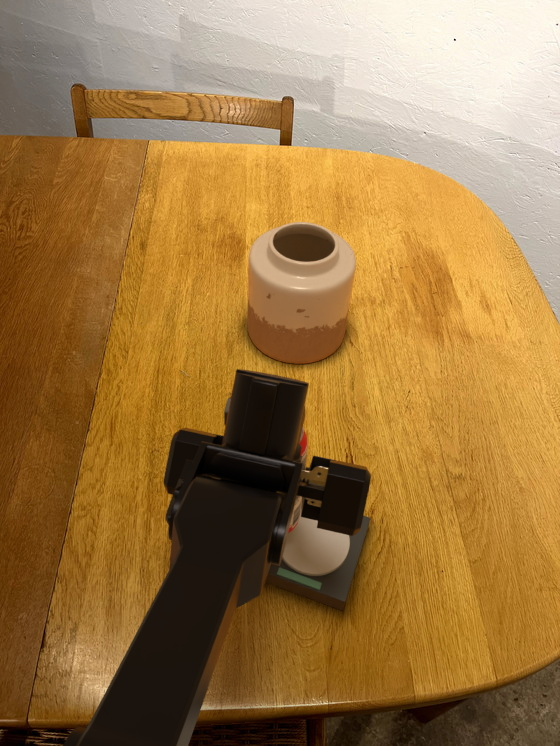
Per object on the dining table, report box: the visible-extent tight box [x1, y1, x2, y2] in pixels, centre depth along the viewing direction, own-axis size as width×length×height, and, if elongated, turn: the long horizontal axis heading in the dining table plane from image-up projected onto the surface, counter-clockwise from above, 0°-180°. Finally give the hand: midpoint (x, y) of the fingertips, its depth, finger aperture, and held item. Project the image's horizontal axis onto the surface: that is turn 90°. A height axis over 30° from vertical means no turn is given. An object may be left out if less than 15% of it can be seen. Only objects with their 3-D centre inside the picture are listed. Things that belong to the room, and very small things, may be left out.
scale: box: [265, 503, 372, 611], centre depth 76 cm, size 11×11×3 cm
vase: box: [246, 221, 357, 365], centre depth 96 cm, size 15×15×17 cm
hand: (277, 465), depth 69 cm, fingers closed on beer can, 6 cm apart
